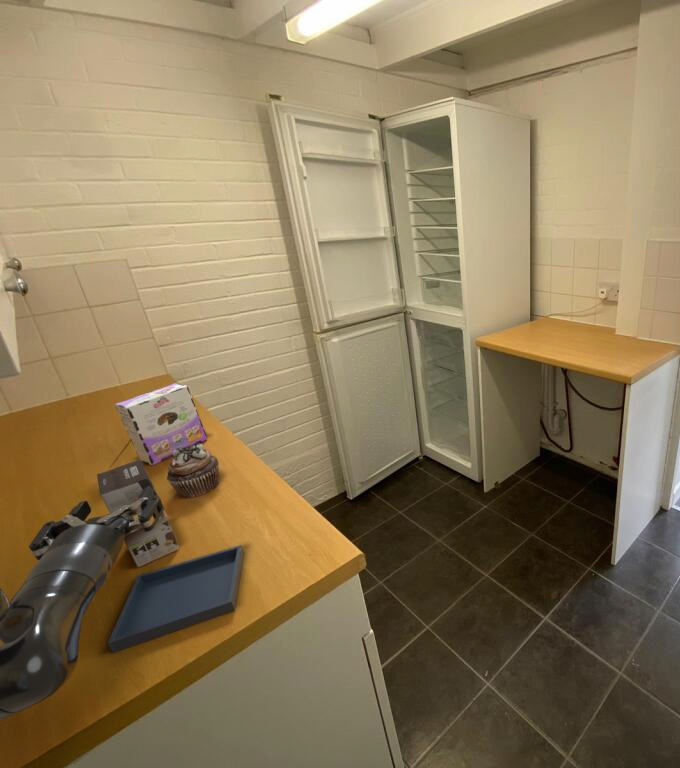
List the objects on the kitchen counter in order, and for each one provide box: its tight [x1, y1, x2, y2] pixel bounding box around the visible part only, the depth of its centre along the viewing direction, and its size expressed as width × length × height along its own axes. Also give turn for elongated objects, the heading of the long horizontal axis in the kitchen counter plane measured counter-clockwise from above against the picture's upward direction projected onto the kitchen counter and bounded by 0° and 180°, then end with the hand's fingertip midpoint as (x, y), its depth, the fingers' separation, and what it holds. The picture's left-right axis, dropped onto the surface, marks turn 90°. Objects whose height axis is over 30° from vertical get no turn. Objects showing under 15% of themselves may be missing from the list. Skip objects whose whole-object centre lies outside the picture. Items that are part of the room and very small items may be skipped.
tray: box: [107, 544, 245, 653], centre depth 68 cm, size 15×13×2 cm
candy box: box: [114, 382, 209, 466], centre depth 108 cm, size 14×6×16 cm, turn 155°
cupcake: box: [166, 443, 221, 499], centre depth 94 cm, size 10×10×10 cm
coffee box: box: [96, 459, 180, 568], centre depth 76 cm, size 9×6×16 cm
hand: (118, 498), depth 70 cm, fingers open, 8 cm apart
